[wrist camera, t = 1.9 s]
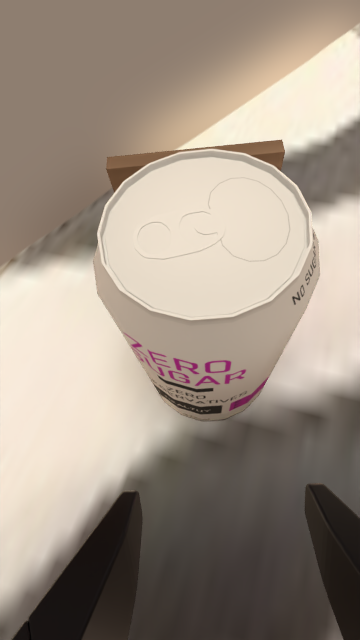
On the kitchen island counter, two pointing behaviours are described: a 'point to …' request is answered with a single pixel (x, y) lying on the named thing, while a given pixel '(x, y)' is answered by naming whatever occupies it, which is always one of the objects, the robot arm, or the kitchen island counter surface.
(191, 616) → the kitchen island counter surface
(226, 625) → the kitchen island counter surface
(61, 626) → the robot arm
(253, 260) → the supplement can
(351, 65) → the kitchen island counter surface
